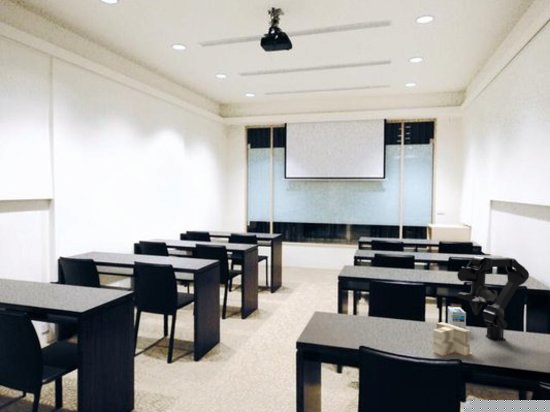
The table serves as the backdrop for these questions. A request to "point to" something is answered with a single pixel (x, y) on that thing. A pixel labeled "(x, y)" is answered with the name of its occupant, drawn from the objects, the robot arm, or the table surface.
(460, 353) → the t mark
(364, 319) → the table surface
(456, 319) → the light bulb box
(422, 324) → the table surface
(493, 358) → the table surface
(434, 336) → the beige stepped block
